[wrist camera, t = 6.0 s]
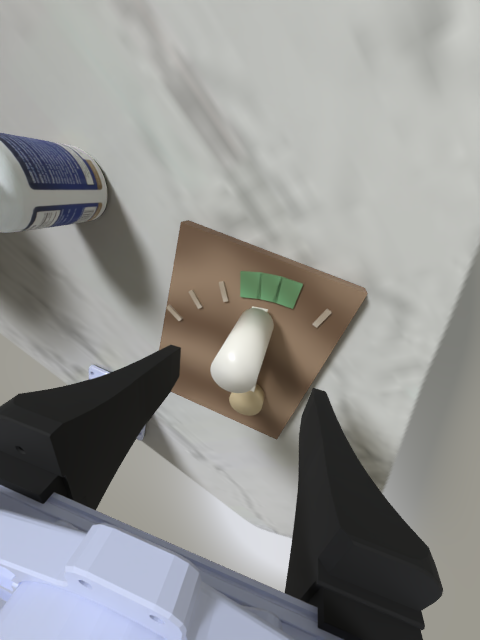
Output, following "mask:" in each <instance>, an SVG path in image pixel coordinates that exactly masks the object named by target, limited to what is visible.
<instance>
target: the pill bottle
mask: <svg viewBox="0 0 480 640" xmlns="http://www.w3.org/2000/svg"><path fill="white" fill-rule="evenodd" d="M106 203H107V186H106V182H105V178H104V176H103V174H102V171H101V169H100V168H99V166H98V165H97V163H96V162H95V161H94V159H93V158H92V157H91V156H90V155H88V154H87V153H86V152H84V151H83V150H81V149H80V148H77V147H75V146H70V145H67V144H61V143H55V142H49V141H44V140H38V139H33V138H27V137H21V136H15V135H10V134H4V133H0V232H3V233H9V232H19V231H26V230H33V229H40V228H47V227H54V226H62V225H69V224H75V223H82V222H88V221H92V220H95V219H97V218H98V217H99V216H101V214H102V213H103V212H104V210H105V207H106Z"/></svg>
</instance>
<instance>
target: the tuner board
mask: <svg viewBox="0 0 480 640" xmlns="http://www.w3.org/2000/svg"><path fill="white" fill-rule="evenodd" d="M366 296H367V292H366V289H365V288H363V287H361V286H358V285H356V284H353V283H350V282H348V281H345V280H343V279H340V278H337V277H335V276H332V275H329V274H327V273H324V272H322V271H319V270H316V269H314V268H311V267H309V266H306V265H303V264H301V263H298V262H296V261H293V260H290V259H288V258H285V257H283V256H280V255H277V254H275V253H272V252H270V251H267V250H264V249H262V248H259V247H257V246H254V245H251V244H249V243H246V242H243V241H241V240H238V239H236V238H233V237H230V236H228V235H225V234H223V233H220V232H217V231H215V230H212V229H210V228H207V227H204V226H202V225H199V224H197V223H194V222H191V221H189V220H188V221H183V222H181V225H180V231H179V237H178V243H177V249H176V254H175V260H174V266H173V272H172V278H171V284H170V290H169V296H168V301H167V307H166V313H165V319H164V325H163V331H162V337H161V342H160V348H159V350H161V349H163V348H165V347H167V346H169V345H174V346H177V347H181V358H180V375H179V378H178V380H177V381H176V383H175V385H174V387H173V388H172V390H171V392H173V393H175V394H177V395H180V396H182V397H184V398H186V399H188V400H191V401H193V402H195V403H197V404H200V405H202V406H204V407H206V408H208V409H211V410H213V411H215V412H217V413H219V414H222V415H224V416H226V417H228V418H230V419H233V420H235V421H237V422H239V423H242V424H244V425H246V426H248V427H250V428H253V429H255V430H257V431H259V432H261V433H264V434H266V435H268V436H270V437H273V438H275V439H277V438H278V437H279V435H280V433H281V432H282V430H283V429H284V427H285V425H286V424H287V422H288V421H289V419H290V417H291V416H292V414H293V413H294V411H295V409H296V408H297V406H298V405H299V403H300V401H301V400H302V398H303V397H304V395H305V393H306V392H307V390H308V389H309V387H310V385H311V384H312V382H313V381H314V379H315V377H316V376H317V374H318V373H319V371H320V369H321V368H322V366H323V365H324V363H325V361H326V360H327V358H328V357H329V355H330V353H331V352H332V350H333V349H334V347H335V345H336V344H337V342H338V341H339V339H340V337H341V336H342V334H343V333H344V331H345V329H346V328H347V326H348V325H349V323H350V321H351V320H352V318H353V317H354V315H355V313H356V312H357V310H358V309H359V307H360V305H361V304H362V302H363V301H364V299H365V297H366ZM252 306H254V307H259V308H264V309H268V312H267V313H268V314H269V315H270V316H271V317H272V319H273V323H274V328H273V331H272V335H271V338H270V341H269V344H268V347H267V350H266V353H265V356H264V359H263V362H262V366H261V369H260V372H259V375H258V378H257V382H256V384H257V385H259V386H260V387H261V388H262V390H263V392H264V401H263V405H262V409H261V411H260V412H259V413H258V414H256V415H251V416H248V415H243V414H240V413H238V412H237V411H235V410H234V409H233V408H232V406H231V404H230V402H229V397H230V395H231V392H229V391H226V390H224V389H223V388H221V387H220V386H219V385H218V384H217V383H216V382H215V381H214V379H213V377H212V375H211V364H212V362H213V360H214V359H215V357H216V355H217V354H218V352H219V351H220V349H221V347H222V346H223V344H224V342H225V341H226V339H227V338H228V336H229V334H230V333H231V331H232V329H233V328H234V326H235V325H236V323H237V321H238V320H239V318H240V316H241V315H242V313H243V312H244V311H246V310H248V309H251V308H252Z"/></svg>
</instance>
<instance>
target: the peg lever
mask: <svg viewBox="0 0 480 640" xmlns="http://www.w3.org/2000/svg"><path fill="white" fill-rule="evenodd" d="M267 312H268V309H264V308H259V307H254V306H252V308H251V309H248V310H246V311H244V312H243V313H242V315H241V316H240V318H239V320H238V321H237V323H236V325H235V326H234V328H233V329H232V331H231V333H230V334H229V336H228V338H227V339H226V341H225V342H224V344H223V346H222V347H221V349H220V351H219V352H218V354H217V355H216V357H215V359H214V360H213V362H212V364H211V375H212V377H213V379H214V381H215V382H216V383H217V384H218V385H219V386H220V387H221V388H223V389H224V390H226V391H229V392H231V395H230V397H229V402H230V404H231V406H232V408H233V409H234V410H235V411H237V412H238V413H240V414H243V415H248V416H251V415H256V414H258V413H259V412H260V411H261V409H262V405H263V401H264V392H263V390H262V388H261V387H260V386H259V385H257V384H256V382H257V378H258V375H259V372H260V369H261V366H262V362H263V359H264V356H265V353H266V350H267V347H268V344H269V341H270V338H271V335H272V331H273V328H274V323H273V319H272V317H271V316H270V315H269V314H268V313H267Z"/></svg>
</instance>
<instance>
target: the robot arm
mask: <svg viewBox="0 0 480 640" xmlns="http://www.w3.org/2000/svg"><path fill="white" fill-rule="evenodd" d="M180 358H181V347H177V346H174V345H169V346H167V347H165V348H163V349H161V350H159V351H157V352H155V353H153V354H151V355H149V356H147V357H145V358H143V359H141V360H139V361H137V362H135V363H133V364H130V365H128V366H126V367H124V368H121V369H119V370H116V371H114V372H111V373H110V372H108V371H106V370H103V369H101V368H99V367H97V366H95V365H92V366H90V367H89V380H86V381H83V382H79V383H76V384H71V385H67V386H63V387H58V388H53V389H48V390H42V391H35V392H29V393H22V394H18V395H17V396H15V397H14V398H12V399H11V400H9V401H8V402H6V403H5V404H3V405H2V406H0V640H423V639H422V634H421V630H423V629H424V627H425V625H424V620H423V616H422V612H421V610H423V609H425V608H426V607H428V606H429V605H431V604H433V603H434V602H436V601H437V600H438V599H439V598H440V597H441V596H442V592H443V588H442V584H441V581H440V578H439V575H438V571H437V568H436V565H435V562H434V560H433V558H432V555H431V552H430V550H429V548H428V546H427V545H426V544H425V543H424V542H423V541H422V540H421V539H420V538H419V537H418V535H417V534H416V533H415V532H414V531H413V530H412V529H411V528H410V527H409V526H408V524H407V523H406V522H405V521H404V520H403V519H402V518H401V516H400V515H399V514H398V513H397V512H396V511H395V509H394V508H393V507H392V506H391V505H390V503H389V502H388V501H387V499H386V498H385V497H384V496H383V494H382V493H381V492H380V490H379V489H378V488H377V486H376V485H375V483H374V482H373V481H372V479H371V478H370V477H369V475H368V474H367V472H366V471H365V469H364V468H363V466H362V465H361V463H360V461H359V460H358V458H357V456H356V455H355V453H354V451H353V450H352V448H351V446H350V444H349V442H348V440H347V439H346V437H345V435H344V433H343V431H342V429H341V426H340V424H339V422H338V420H337V418H336V416H335V413H334V411H333V408H332V406H331V404H330V401H329V398H328V396H327V393H326V392H325V391H322V390H318V389H315V388H313V390H312V392H311V395H310V397H309V399H308V402H307V404H306V407H305V409H304V412H303V414H302V418H301V425H300V433H299V481H298V495H297V504H296V513H295V522H294V530H293V538H292V546H291V553H290V560H289V568H288V574H287V581H286V588H285V593H283V592H281V591H278V590H276V589H274V588H272V587H269V586H267V585H264V584H262V583H260V582H258V581H256V580H253V579H251V578H249V577H246V576H244V575H242V574H240V573H237V572H235V571H233V570H230V569H228V568H226V567H224V566H221V565H219V564H217V563H214V562H212V561H210V560H208V559H205V558H203V557H201V556H198V555H196V554H194V553H191V552H189V551H187V550H185V549H182V548H180V547H178V546H175V545H173V544H171V543H169V542H167V541H164V540H162V539H160V538H157V537H155V536H153V535H151V534H148V533H146V532H144V531H141V530H139V529H137V528H135V527H132V526H130V525H128V524H125V523H123V522H121V521H119V520H116V519H114V518H112V517H109V516H107V515H105V514H103V513H100V512H98V511H96V508H97V507H98V505H99V503H100V501H101V499H102V497H103V495H104V493H105V492H106V490H107V488H108V486H109V484H110V482H111V481H112V479H113V477H114V475H115V474H116V472H117V470H118V468H119V466H120V465H121V463H122V461H123V460H124V458H125V456H126V454H127V453H128V451H129V449H130V448H131V446H132V445H133V443H134V441H135V440H136V439H138V440H142V439H143V438H144V434H145V428H146V423H147V422H148V421H149V419H150V418H151V417H152V415H153V414H154V413H155V412H156V410H157V409H158V408H159V406H160V405H161V404H162V402H163V401H164V400H165V398H166V397H167V396H168V394H169V393H170V392H171V390H172V388H173V387H174V385H175V383H176V381H177V380H178V378H179V375H180ZM420 629H421V630H420Z"/></svg>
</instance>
